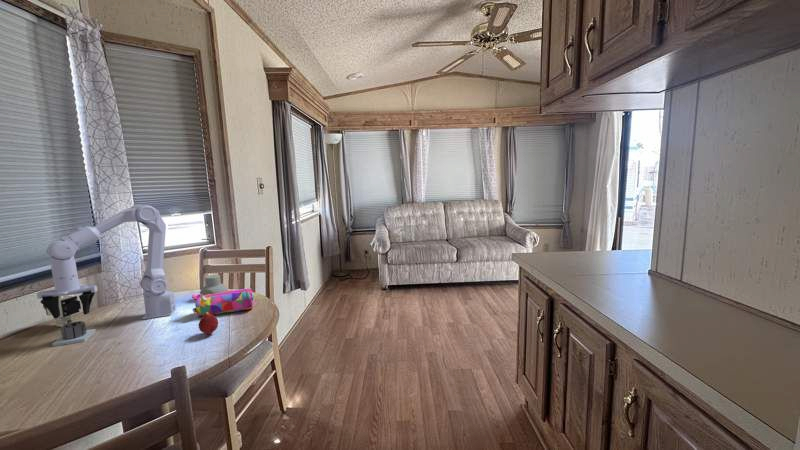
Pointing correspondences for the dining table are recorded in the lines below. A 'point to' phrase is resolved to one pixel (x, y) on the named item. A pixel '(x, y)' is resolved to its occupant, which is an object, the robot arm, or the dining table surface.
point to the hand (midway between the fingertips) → (72, 315)
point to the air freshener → (213, 285)
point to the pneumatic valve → (66, 309)
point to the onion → (208, 323)
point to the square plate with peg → (76, 340)
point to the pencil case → (224, 302)
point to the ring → (73, 330)
